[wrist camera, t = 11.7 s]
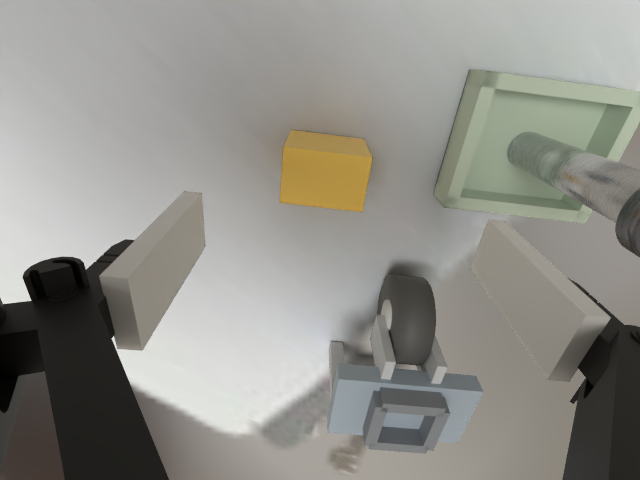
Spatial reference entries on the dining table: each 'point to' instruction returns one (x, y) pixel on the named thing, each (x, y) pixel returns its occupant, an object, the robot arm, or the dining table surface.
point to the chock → (325, 171)
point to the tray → (528, 116)
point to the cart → (401, 378)
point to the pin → (584, 180)
